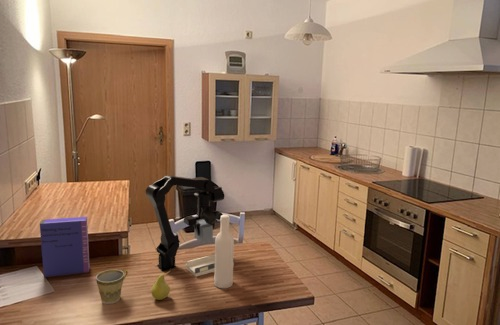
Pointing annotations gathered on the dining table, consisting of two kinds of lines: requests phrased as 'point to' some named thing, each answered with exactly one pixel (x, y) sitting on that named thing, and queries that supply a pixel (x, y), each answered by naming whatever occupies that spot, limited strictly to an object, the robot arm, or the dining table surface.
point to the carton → (205, 232)
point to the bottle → (224, 255)
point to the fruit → (160, 288)
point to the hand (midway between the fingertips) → (203, 234)
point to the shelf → (202, 265)
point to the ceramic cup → (110, 285)
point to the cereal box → (64, 246)
